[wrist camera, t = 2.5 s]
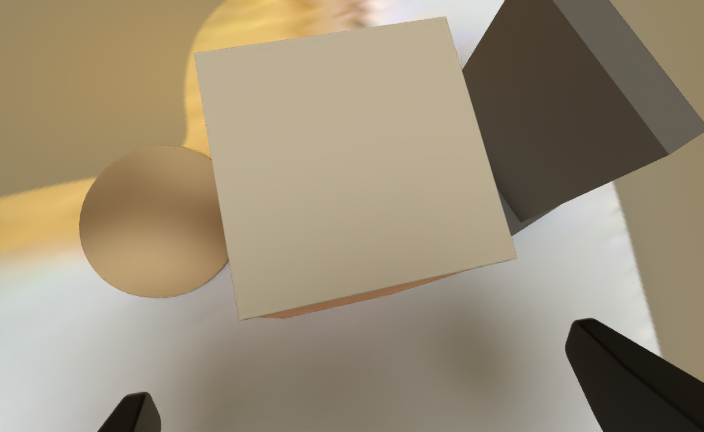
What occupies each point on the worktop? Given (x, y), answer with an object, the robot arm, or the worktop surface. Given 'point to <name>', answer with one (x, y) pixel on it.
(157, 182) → the coaster
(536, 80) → the screen
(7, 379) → the worktop surface
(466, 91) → the tin
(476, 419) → the worktop surface
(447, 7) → the worktop surface
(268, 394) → the worktop surface
